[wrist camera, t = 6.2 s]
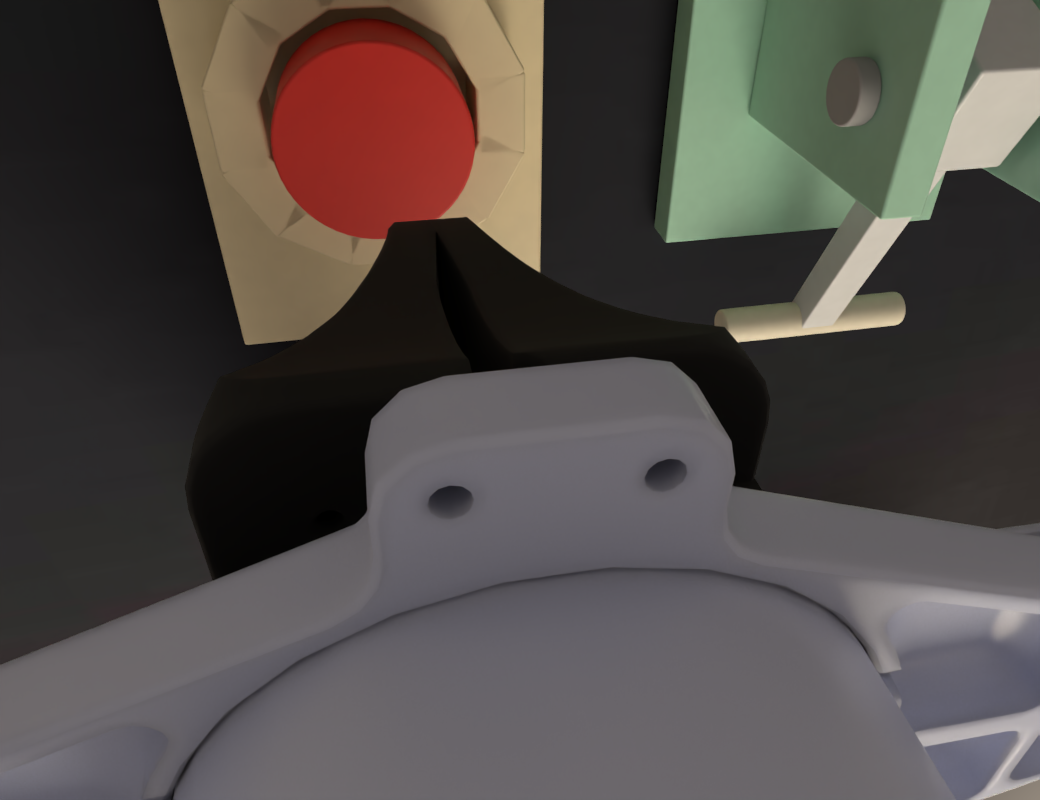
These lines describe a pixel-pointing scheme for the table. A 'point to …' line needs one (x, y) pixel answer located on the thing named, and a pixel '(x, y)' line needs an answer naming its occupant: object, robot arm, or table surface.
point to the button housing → (250, 165)
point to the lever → (970, 144)
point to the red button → (371, 128)
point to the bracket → (815, 113)
